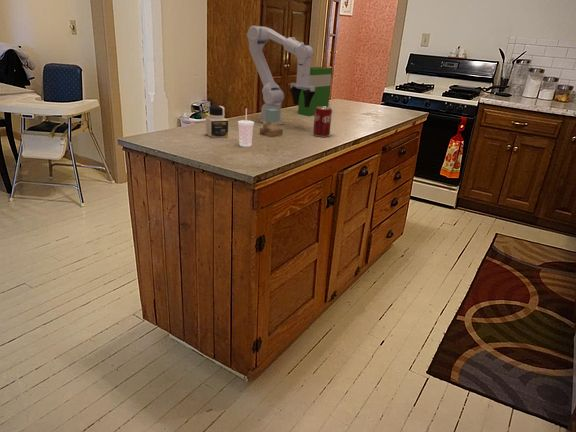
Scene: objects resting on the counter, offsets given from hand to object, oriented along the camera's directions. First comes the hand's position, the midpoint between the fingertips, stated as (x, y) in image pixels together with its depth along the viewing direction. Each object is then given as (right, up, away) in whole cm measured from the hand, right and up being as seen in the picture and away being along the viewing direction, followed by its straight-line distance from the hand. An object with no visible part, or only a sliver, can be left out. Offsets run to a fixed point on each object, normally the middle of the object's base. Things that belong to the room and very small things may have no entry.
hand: (301, 105), depth 199 cm
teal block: (-13, -10, -13) cm, 21 cm away
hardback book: (+8, +6, +43) cm, 44 cm away
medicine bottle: (-35, -17, -19) cm, 43 cm away
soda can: (+8, -15, -6) cm, 18 cm away
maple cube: (-13, -13, -12) cm, 22 cm away
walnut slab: (-13, -16, -11) cm, 23 cm away
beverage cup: (-23, -23, -30) cm, 44 cm away
